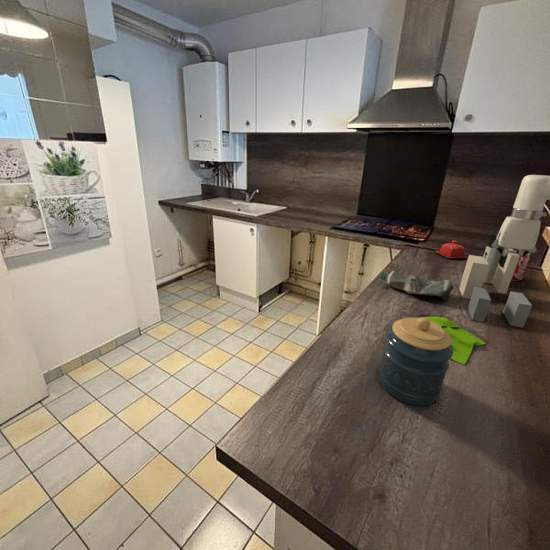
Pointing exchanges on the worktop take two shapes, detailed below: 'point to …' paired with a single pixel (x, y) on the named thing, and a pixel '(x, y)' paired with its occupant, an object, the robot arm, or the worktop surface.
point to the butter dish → (452, 250)
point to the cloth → (458, 339)
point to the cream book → (505, 272)
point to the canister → (415, 360)
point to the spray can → (491, 259)
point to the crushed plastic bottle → (418, 285)
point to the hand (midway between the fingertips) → (506, 266)
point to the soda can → (520, 268)
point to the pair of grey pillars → (513, 310)
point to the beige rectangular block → (473, 275)
